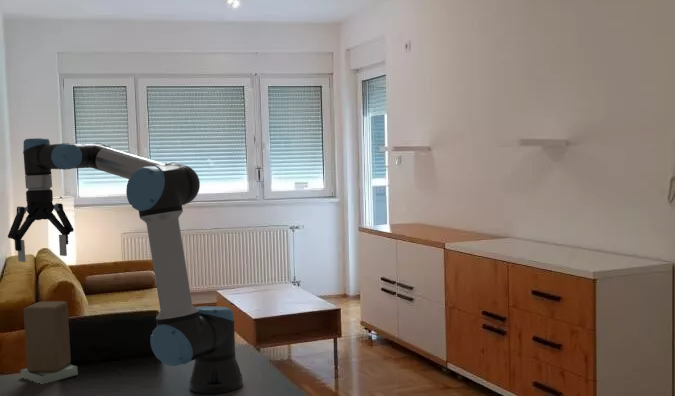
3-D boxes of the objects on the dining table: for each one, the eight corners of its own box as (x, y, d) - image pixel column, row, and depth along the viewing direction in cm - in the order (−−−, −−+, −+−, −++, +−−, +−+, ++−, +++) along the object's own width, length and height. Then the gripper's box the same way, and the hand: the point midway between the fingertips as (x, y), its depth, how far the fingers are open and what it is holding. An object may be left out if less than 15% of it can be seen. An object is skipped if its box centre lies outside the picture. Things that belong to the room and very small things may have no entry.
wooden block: (72, 363, 240) (68, 300, 239) (57, 372, 230) (53, 307, 229) (41, 363, 241) (38, 301, 240) (25, 372, 231) (21, 307, 230)
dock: (77, 374, 237) (77, 366, 237) (41, 384, 227) (41, 376, 227) (56, 368, 244) (56, 360, 244) (21, 378, 235) (20, 369, 235)
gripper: (69, 186, 244) (73, 252, 245) (-8, 191, 225) (-3, 263, 226) (82, 186, 239) (86, 254, 241) (5, 192, 220) (10, 265, 221)
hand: (43, 258), depth 233 cm, fingers open, 13 cm apart
